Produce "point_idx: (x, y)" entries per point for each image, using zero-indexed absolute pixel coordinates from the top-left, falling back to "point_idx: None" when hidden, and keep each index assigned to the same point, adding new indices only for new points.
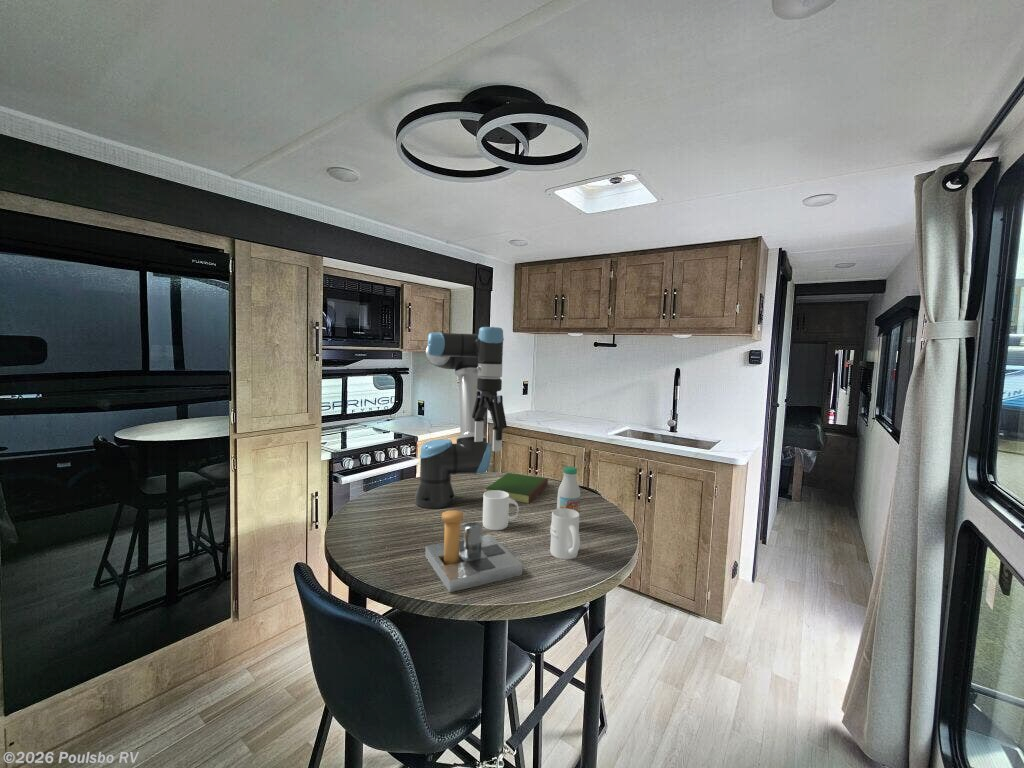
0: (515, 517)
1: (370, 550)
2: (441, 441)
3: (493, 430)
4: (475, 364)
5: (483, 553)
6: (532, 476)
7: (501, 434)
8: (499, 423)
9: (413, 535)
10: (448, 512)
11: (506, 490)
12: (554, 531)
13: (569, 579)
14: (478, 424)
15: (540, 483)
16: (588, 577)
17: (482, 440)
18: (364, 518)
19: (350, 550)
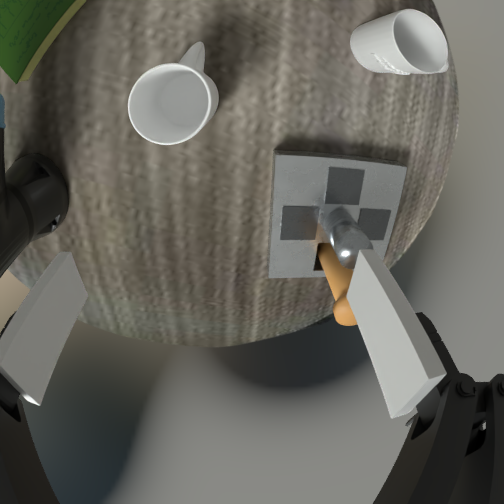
0: (204, 53)
1: (215, 319)
2: None
3: (394, 408)
4: None
5: (345, 205)
6: None
7: (442, 349)
8: (478, 434)
9: (180, 264)
10: (343, 314)
11: (40, 35)
12: (405, 74)
13: (438, 110)
14: (35, 376)
15: None
16: (445, 83)
17: (69, 259)
18: (102, 307)
19: (206, 335)
